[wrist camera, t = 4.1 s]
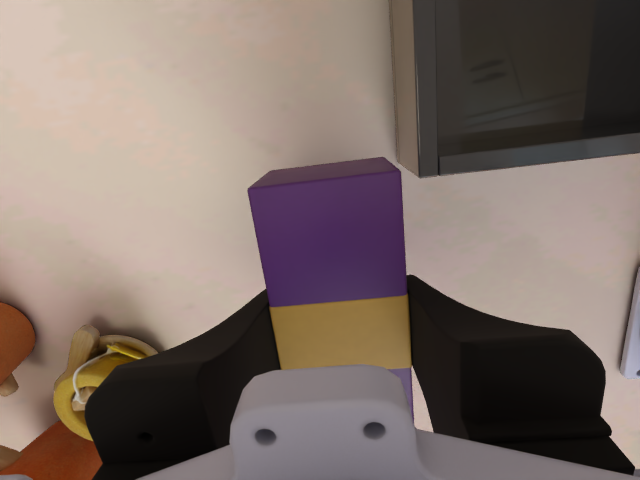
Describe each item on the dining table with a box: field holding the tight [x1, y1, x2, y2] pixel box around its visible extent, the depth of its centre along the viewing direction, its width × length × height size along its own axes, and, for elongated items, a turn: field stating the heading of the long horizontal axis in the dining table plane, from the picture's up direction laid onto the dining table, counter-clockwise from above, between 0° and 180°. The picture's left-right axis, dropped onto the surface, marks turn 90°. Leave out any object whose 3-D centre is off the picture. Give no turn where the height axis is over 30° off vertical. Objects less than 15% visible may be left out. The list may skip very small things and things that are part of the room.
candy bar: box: [248, 157, 414, 422], centre depth 13 cm, size 4×10×4 cm, turn 7°
